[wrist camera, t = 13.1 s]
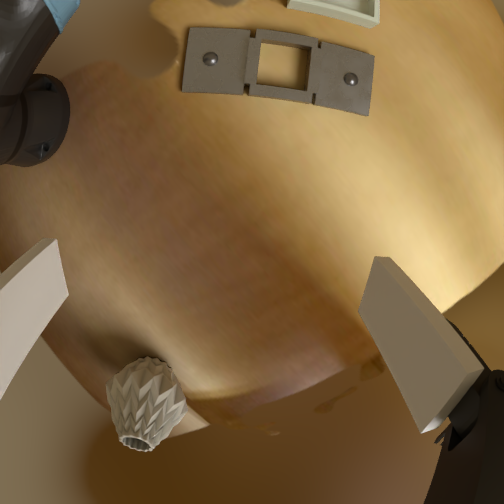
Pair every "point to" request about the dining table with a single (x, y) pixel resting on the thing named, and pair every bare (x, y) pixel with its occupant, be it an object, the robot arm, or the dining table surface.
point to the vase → (145, 403)
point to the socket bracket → (245, 73)
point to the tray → (342, 10)
